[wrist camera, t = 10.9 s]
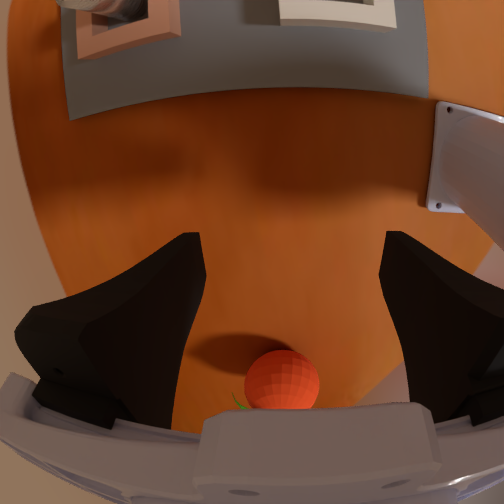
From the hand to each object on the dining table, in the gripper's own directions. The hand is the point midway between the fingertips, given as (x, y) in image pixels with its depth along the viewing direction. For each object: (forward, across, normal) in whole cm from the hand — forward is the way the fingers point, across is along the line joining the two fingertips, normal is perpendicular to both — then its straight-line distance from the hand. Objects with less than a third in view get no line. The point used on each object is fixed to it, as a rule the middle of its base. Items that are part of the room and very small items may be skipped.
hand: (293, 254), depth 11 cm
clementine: (+10, +1, +18) cm, 20 cm away
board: (+9, +3, -13) cm, 16 cm away
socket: (+8, +9, -13) cm, 18 cm away
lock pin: (+8, +9, -13) cm, 18 cm away
